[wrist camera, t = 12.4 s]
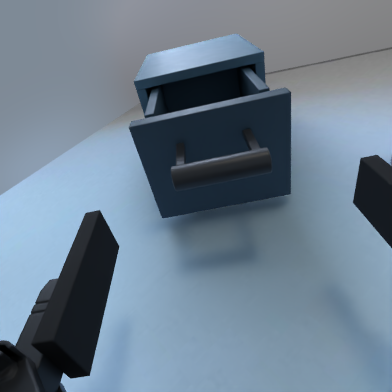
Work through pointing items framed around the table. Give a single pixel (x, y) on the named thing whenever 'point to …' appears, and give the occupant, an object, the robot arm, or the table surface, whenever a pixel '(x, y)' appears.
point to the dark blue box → (197, 63)
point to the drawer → (215, 142)
